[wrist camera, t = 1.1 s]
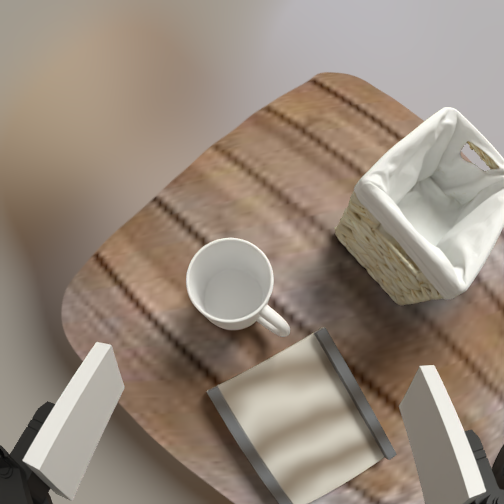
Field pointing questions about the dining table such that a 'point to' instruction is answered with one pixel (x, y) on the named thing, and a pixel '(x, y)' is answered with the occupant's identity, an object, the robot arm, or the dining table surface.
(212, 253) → the cup
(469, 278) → the storage basket
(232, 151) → the dining table surface
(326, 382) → the rail board
